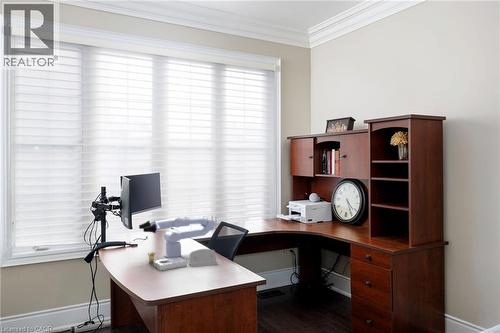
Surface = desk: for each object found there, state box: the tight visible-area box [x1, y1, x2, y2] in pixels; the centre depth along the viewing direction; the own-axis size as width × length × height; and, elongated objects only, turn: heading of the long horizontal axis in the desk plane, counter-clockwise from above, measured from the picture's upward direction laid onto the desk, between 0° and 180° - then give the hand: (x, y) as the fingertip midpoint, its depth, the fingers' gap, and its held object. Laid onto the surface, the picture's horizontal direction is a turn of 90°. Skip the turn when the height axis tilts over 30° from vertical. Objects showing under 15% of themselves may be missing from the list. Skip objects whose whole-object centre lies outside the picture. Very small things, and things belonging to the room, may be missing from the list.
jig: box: [153, 256, 188, 272], centre depth 217 cm, size 16×12×3 cm
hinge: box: [188, 248, 218, 268], centre depth 221 cm, size 17×5×10 cm, turn 107°
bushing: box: [147, 251, 156, 265], centre depth 224 cm, size 4×4×6 cm
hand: (141, 228), depth 228 cm, fingers open, 7 cm apart
